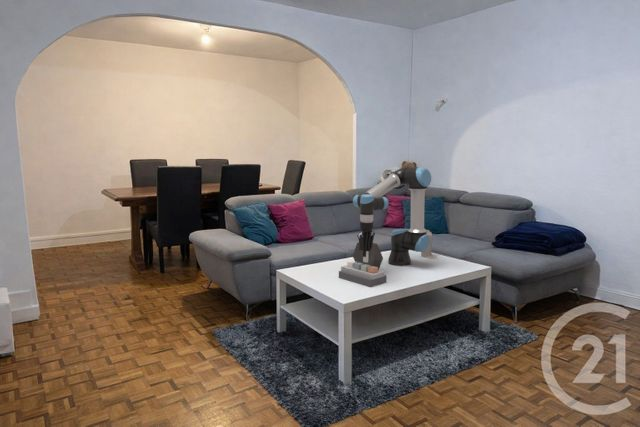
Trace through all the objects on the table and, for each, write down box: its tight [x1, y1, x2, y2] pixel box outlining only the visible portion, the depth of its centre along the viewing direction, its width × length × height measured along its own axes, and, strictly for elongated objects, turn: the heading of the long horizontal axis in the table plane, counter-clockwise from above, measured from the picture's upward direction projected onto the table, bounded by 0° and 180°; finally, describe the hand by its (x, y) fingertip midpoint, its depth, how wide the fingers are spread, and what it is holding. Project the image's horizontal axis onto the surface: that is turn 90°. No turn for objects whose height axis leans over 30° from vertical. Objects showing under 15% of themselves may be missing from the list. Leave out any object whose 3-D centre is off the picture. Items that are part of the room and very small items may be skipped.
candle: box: [420, 228, 438, 259], centre depth 320 cm, size 7×14×20 cm, turn 42°
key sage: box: [361, 264, 371, 272], centre depth 262 cm, size 4×4×3 cm
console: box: [338, 264, 387, 288], centre depth 264 cm, size 14×25×6 cm, turn 42°
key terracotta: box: [368, 266, 378, 274], centre depth 258 cm, size 4×4×3 cm
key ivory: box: [346, 260, 357, 268], centre depth 270 cm, size 4×4×3 cm
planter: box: [352, 242, 384, 271], centre depth 284 cm, size 17×8×21 cm
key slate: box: [354, 263, 364, 270], centre depth 266 cm, size 4×4×3 cm
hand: (365, 261), depth 261 cm, fingers closed
